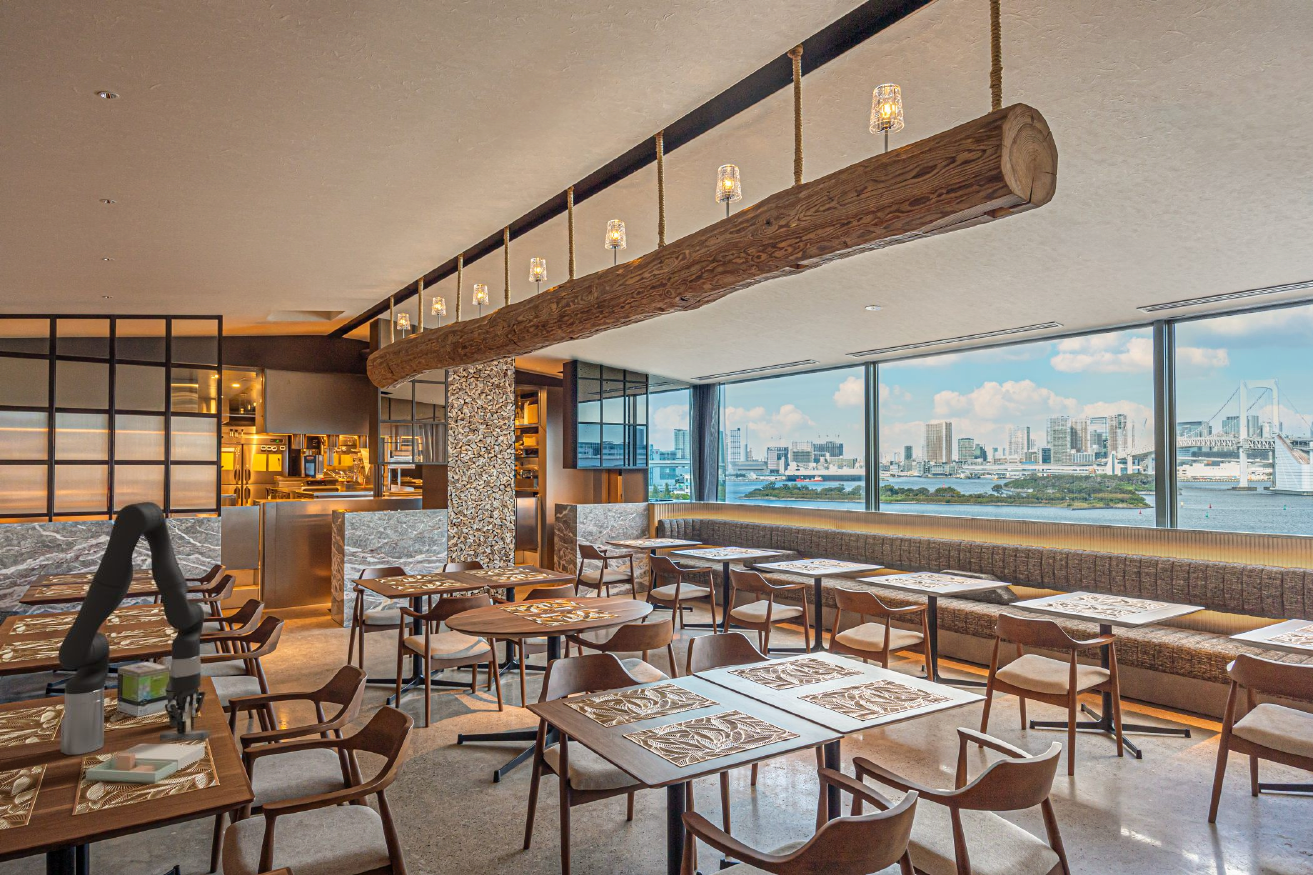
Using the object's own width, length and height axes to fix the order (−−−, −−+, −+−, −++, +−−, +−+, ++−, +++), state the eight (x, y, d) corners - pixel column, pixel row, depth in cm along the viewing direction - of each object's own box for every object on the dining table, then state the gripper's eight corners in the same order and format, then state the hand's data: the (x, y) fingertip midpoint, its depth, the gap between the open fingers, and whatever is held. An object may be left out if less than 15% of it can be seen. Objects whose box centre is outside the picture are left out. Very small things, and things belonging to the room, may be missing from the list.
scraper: (159, 741, 219) (158, 706, 219) (166, 738, 221) (165, 703, 222) (203, 740, 217) (202, 705, 218) (209, 737, 220) (208, 702, 220)
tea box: (169, 709, 255) (170, 665, 256) (136, 717, 247) (137, 672, 247) (148, 702, 263) (149, 660, 264) (115, 710, 255) (116, 666, 255)
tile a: (121, 768, 203) (116, 770, 201) (122, 753, 203) (116, 755, 202) (135, 768, 203) (129, 771, 201) (135, 753, 203) (129, 756, 201)
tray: (85, 779, 197) (86, 770, 197) (110, 768, 204) (110, 759, 204) (155, 782, 194) (155, 772, 194) (177, 770, 202) (177, 761, 202)
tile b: (140, 765, 200) (140, 772, 200) (128, 771, 196) (127, 778, 196) (153, 765, 200) (153, 772, 200) (141, 771, 196) (141, 778, 196)
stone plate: (111, 768, 205) (111, 756, 205) (140, 754, 214) (140, 743, 215) (177, 770, 202) (178, 759, 202) (204, 756, 212) (204, 745, 212)
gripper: (191, 665, 228) (191, 723, 227) (155, 678, 214) (155, 740, 213) (214, 665, 227) (213, 724, 226) (179, 678, 213) (179, 740, 212)
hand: (185, 731), depth 219 cm, fingers closed on scraper, 2 cm apart
